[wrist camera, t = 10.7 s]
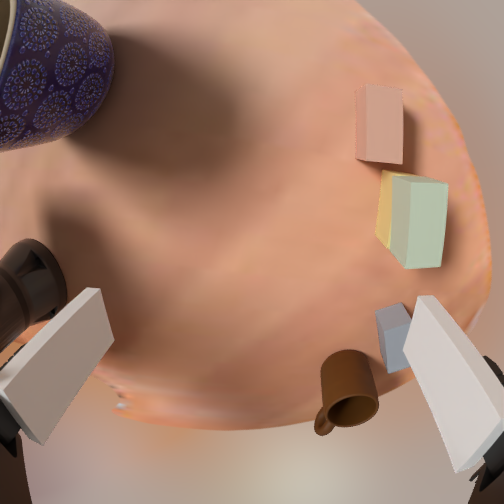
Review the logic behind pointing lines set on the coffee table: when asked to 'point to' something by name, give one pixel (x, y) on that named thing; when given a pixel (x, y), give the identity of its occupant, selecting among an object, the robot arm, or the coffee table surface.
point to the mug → (346, 392)
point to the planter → (49, 71)
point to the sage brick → (418, 221)
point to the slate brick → (393, 336)
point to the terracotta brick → (379, 124)
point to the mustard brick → (386, 206)
